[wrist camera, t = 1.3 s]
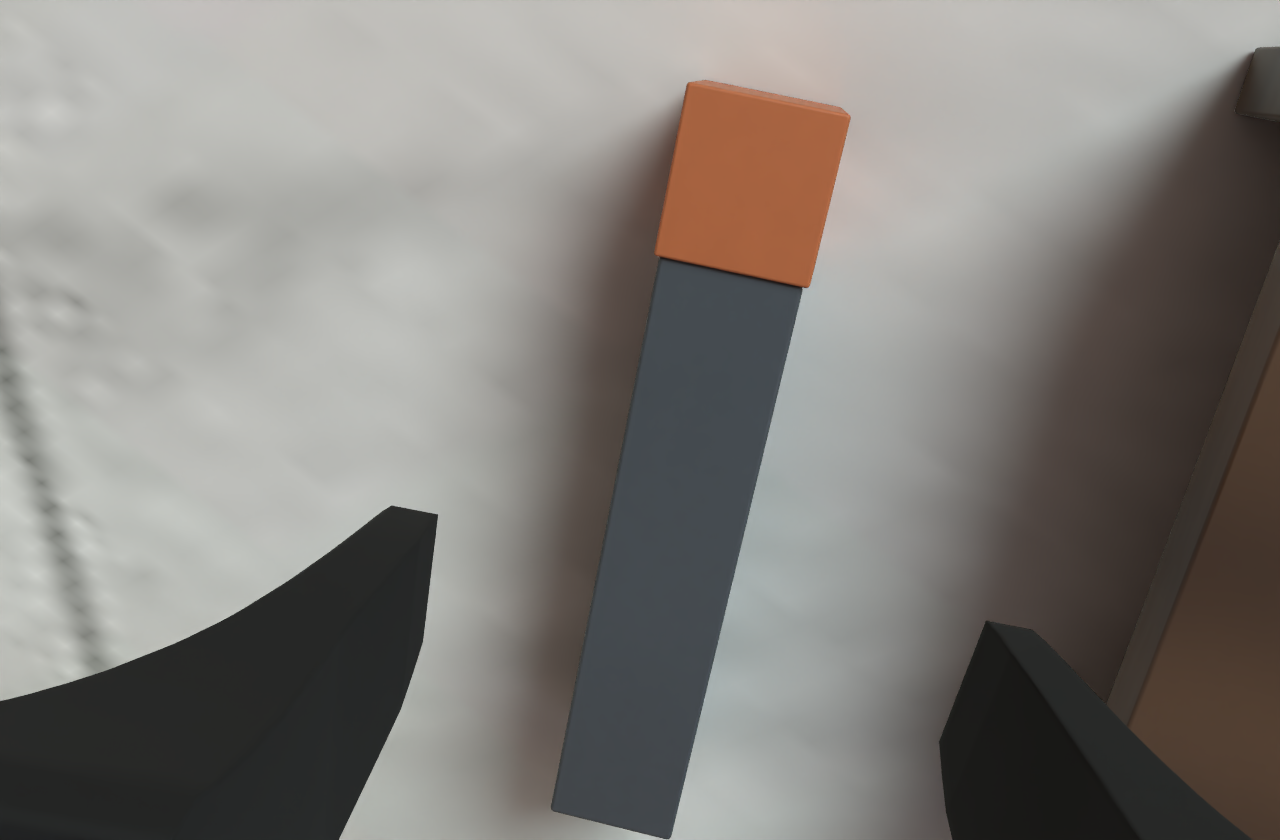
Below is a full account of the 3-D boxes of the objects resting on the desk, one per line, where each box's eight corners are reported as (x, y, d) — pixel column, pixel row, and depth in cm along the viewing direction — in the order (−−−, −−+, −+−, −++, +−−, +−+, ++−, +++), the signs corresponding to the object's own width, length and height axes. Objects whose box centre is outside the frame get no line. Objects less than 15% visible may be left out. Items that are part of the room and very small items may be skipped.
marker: (688, 749, 27) (674, 846, 24) (574, 722, 27) (543, 814, 24) (842, 107, 22) (851, 115, 19) (702, 79, 22) (687, 81, 19)
